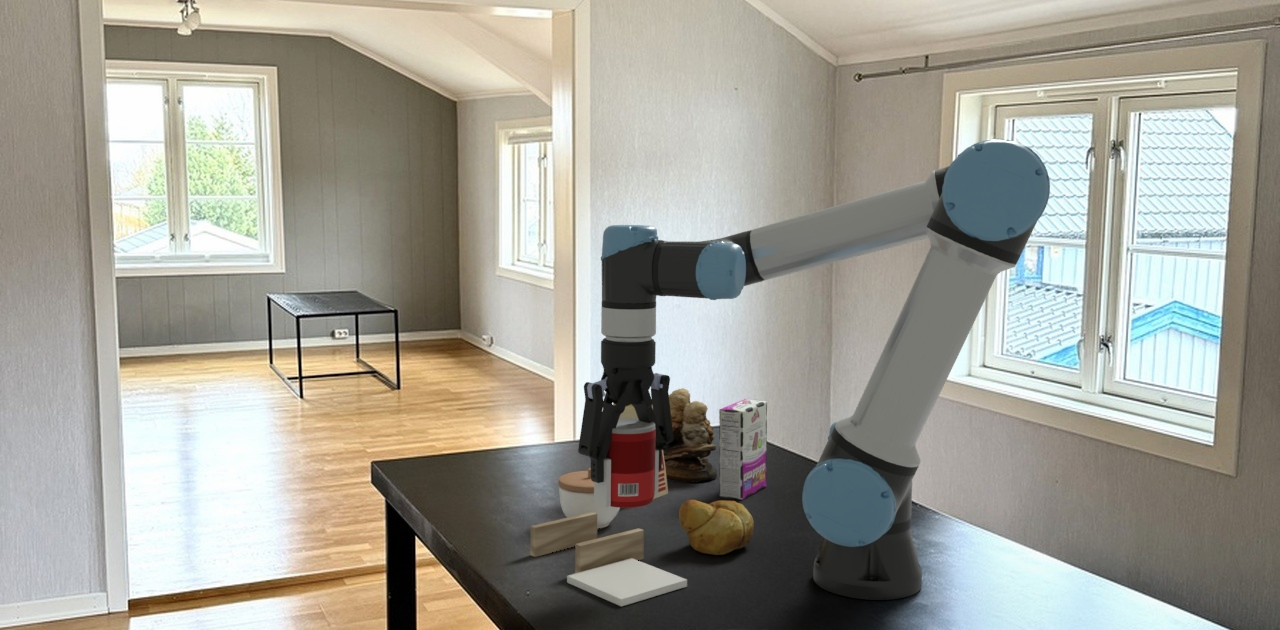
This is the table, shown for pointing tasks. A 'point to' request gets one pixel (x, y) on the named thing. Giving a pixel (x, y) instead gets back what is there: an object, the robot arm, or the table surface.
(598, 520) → the lidded jar
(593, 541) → the cradle
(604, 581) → the coaster
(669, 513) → the table surface
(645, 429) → the canned food
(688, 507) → the bread roll
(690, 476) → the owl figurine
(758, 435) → the candy bar box
